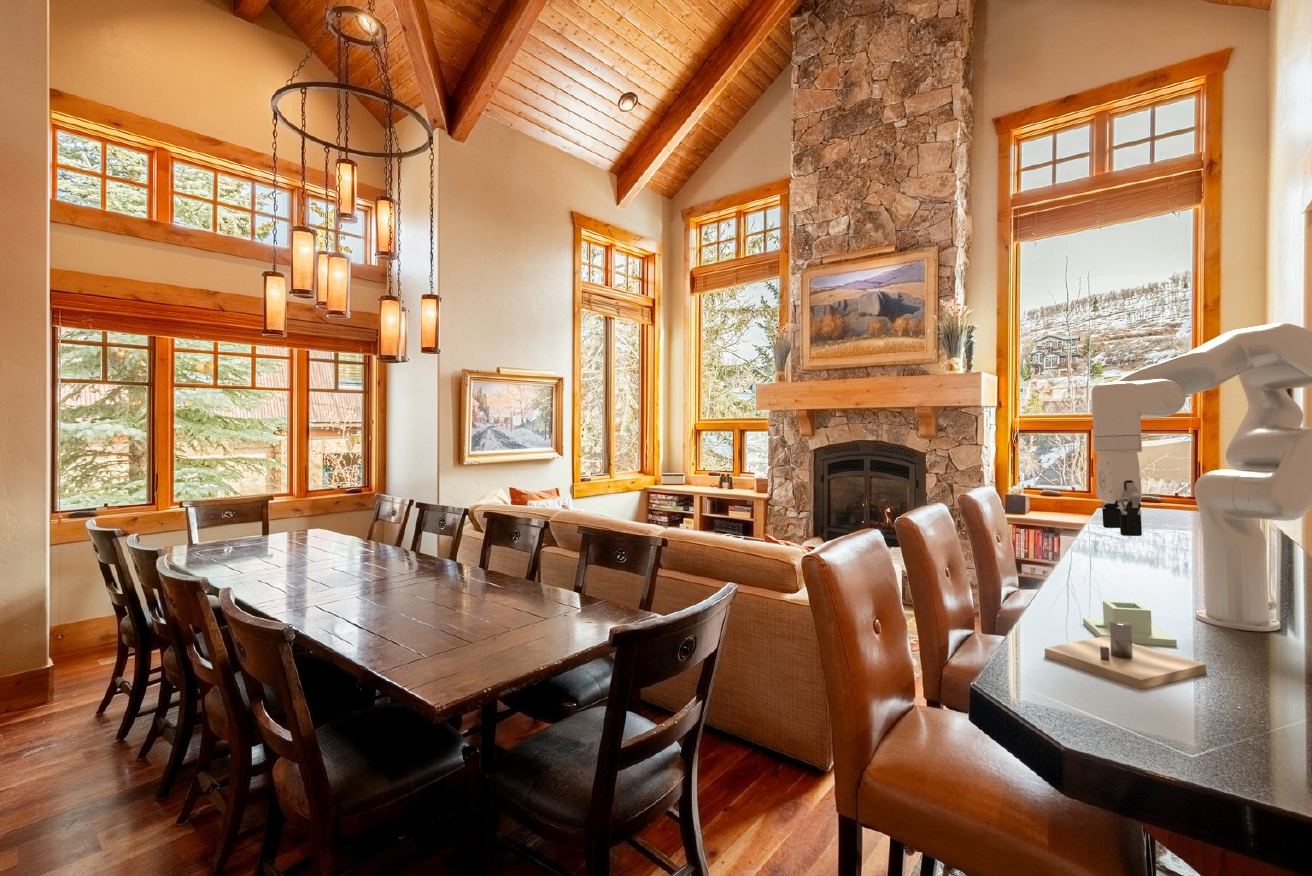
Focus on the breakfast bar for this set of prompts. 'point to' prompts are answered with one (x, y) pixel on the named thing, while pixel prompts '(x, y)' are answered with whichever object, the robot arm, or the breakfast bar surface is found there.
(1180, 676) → the base
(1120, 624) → the pins
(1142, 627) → the flange
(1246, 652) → the breakfast bar surface
